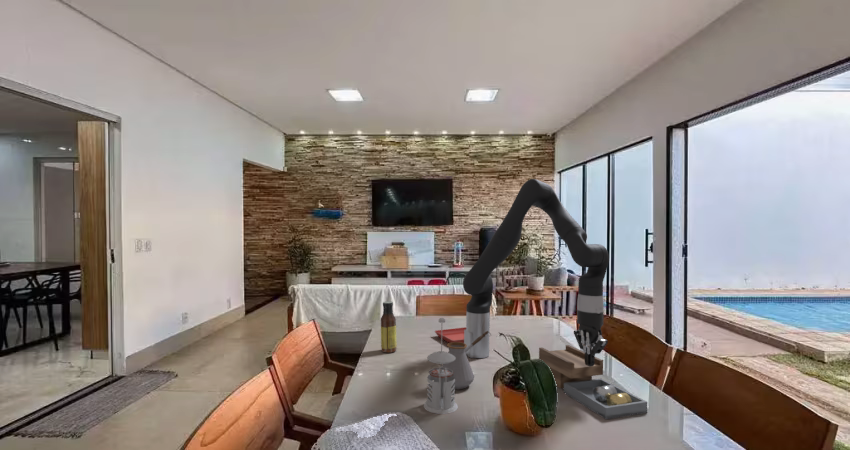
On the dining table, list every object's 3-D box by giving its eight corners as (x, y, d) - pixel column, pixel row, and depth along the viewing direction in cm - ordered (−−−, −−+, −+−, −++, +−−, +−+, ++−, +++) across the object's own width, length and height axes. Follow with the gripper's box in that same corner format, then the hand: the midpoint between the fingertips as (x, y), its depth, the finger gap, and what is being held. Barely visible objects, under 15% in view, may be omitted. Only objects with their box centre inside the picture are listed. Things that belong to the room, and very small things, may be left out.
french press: (456, 398, 121) (457, 314, 121) (460, 417, 109) (462, 323, 109) (422, 398, 121) (424, 314, 121) (424, 417, 109) (425, 323, 109)
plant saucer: (433, 337, 188) (433, 330, 188) (467, 333, 196) (467, 326, 196) (452, 348, 172) (452, 340, 172) (488, 343, 179) (488, 336, 179)
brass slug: (615, 395, 112) (605, 394, 116) (618, 410, 111) (608, 409, 114) (629, 392, 114) (619, 392, 117) (633, 408, 112) (622, 407, 116)
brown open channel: (570, 394, 125) (571, 363, 125) (538, 375, 141) (539, 347, 141) (602, 390, 128) (603, 360, 128) (568, 371, 144) (568, 345, 144)
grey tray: (606, 419, 109) (606, 408, 109) (563, 392, 126) (563, 383, 126) (647, 412, 113) (647, 401, 113) (600, 387, 131) (600, 378, 131)
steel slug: (599, 385, 118) (591, 389, 121) (605, 399, 116) (597, 403, 119) (612, 383, 120) (604, 387, 123) (619, 397, 117) (611, 401, 120)
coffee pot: (455, 394, 124) (456, 345, 124) (431, 383, 132) (431, 337, 132) (501, 378, 137) (502, 334, 137) (476, 369, 146) (477, 327, 146)
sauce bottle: (397, 349, 168) (398, 300, 168) (395, 353, 162) (395, 303, 162) (382, 348, 169) (382, 300, 169) (378, 353, 163) (379, 303, 163)
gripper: (566, 305, 131) (565, 359, 131) (595, 314, 118) (594, 374, 118) (585, 304, 133) (585, 357, 133) (616, 312, 120) (615, 371, 120)
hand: (589, 365), depth 126 cm, fingers closed
